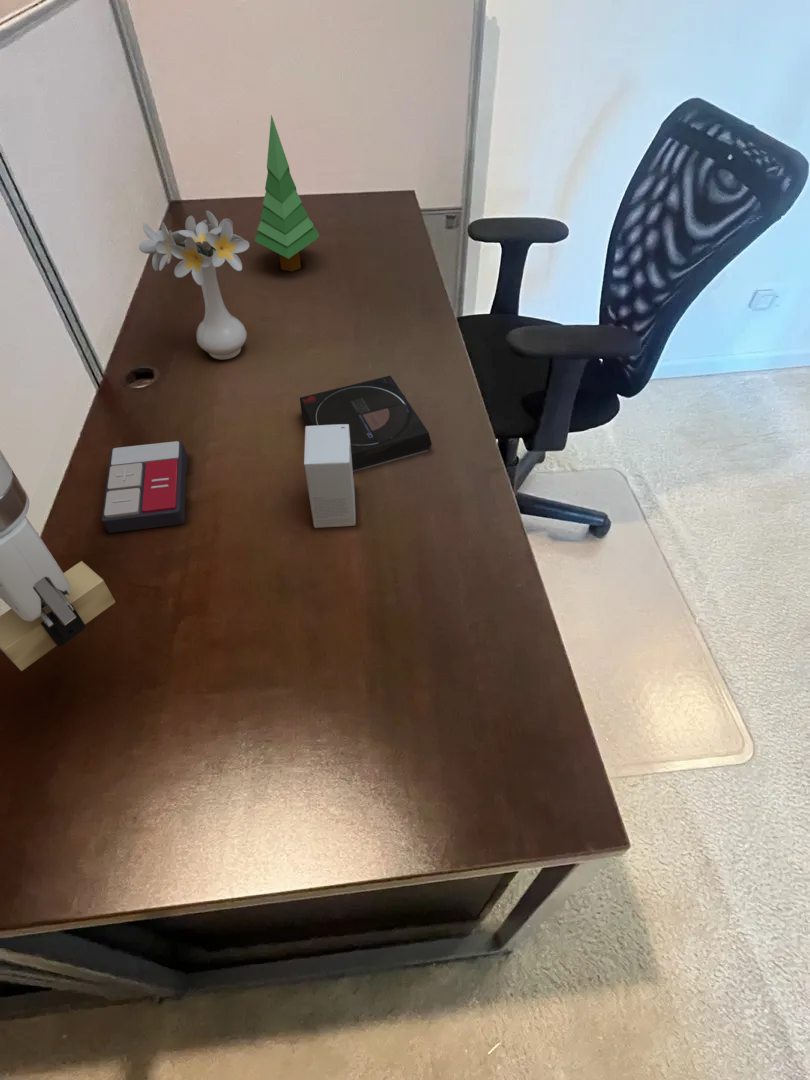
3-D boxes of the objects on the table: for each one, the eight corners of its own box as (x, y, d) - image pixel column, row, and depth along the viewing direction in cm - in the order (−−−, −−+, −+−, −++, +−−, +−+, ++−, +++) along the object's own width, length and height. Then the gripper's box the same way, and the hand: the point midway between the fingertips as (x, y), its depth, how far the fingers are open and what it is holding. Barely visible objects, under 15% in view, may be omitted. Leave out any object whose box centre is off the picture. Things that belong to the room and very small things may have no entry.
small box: (313, 490, 104) (304, 424, 94) (354, 488, 104) (349, 422, 94) (312, 529, 99) (303, 464, 89) (355, 527, 99) (350, 461, 89)
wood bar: (21, 671, 67) (3, 650, 64) (0, 649, 68) (-18, 627, 65) (115, 602, 72) (103, 579, 69) (94, 583, 74) (81, 560, 71)
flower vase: (183, 331, 133) (146, 200, 114) (275, 334, 132) (253, 204, 113) (163, 370, 124) (120, 236, 105) (261, 374, 124) (236, 239, 105)
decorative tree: (319, 247, 156) (305, 99, 133) (323, 281, 146) (308, 127, 123) (260, 251, 155) (236, 102, 132) (260, 285, 144) (233, 130, 122)
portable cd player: (431, 450, 110) (432, 431, 107) (332, 477, 106) (330, 459, 103) (393, 393, 120) (393, 374, 117) (302, 416, 116) (299, 397, 113)
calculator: (99, 517, 95) (109, 444, 104) (109, 536, 98) (118, 463, 107) (178, 508, 96) (181, 436, 105) (185, 526, 100) (188, 455, 109)
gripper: (-117, 481, 58) (-17, 604, 72) (-17, 580, 51) (72, 695, 65) (-33, 437, 62) (47, 562, 75) (71, 524, 55) (137, 644, 69)
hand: (57, 622), depth 70 cm, fingers closed on wood bar, 4 cm apart
